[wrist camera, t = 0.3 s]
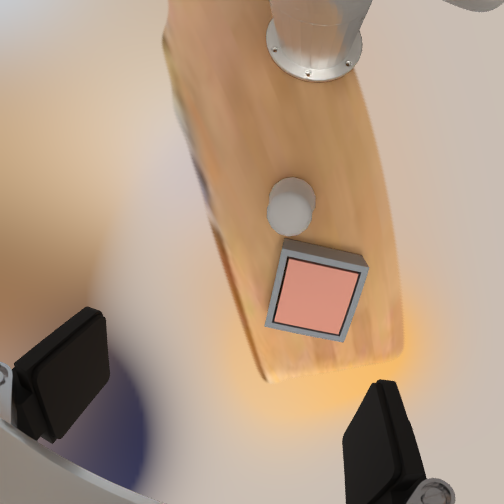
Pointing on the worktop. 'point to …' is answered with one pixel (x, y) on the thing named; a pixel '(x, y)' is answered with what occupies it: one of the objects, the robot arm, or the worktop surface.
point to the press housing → (323, 257)
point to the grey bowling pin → (290, 206)
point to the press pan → (315, 295)
